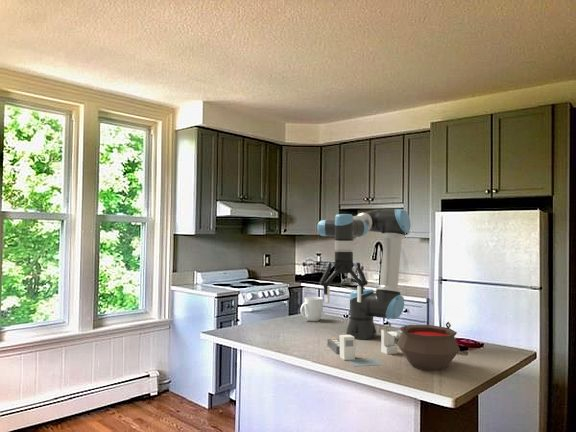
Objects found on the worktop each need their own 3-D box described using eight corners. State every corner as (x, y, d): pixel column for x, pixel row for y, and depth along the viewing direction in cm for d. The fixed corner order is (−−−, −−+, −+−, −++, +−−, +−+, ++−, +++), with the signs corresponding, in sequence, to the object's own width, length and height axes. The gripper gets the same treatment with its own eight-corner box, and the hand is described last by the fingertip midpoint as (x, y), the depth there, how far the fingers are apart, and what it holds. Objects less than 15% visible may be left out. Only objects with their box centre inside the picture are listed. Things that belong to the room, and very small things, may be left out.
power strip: (334, 342, 213) (334, 334, 213) (347, 353, 194) (347, 345, 194) (323, 343, 212) (324, 335, 213) (336, 354, 193) (336, 345, 193)
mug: (306, 323, 258) (306, 300, 258) (295, 320, 266) (295, 298, 267) (326, 320, 266) (326, 298, 267) (314, 317, 275) (315, 296, 276)
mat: (374, 359, 186) (374, 358, 186) (383, 365, 177) (383, 364, 177) (346, 360, 184) (346, 359, 184) (354, 367, 175) (354, 366, 175)
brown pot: (424, 377, 163) (424, 331, 164) (384, 360, 185) (384, 319, 186) (474, 370, 173) (473, 326, 173) (430, 354, 195) (430, 316, 195)
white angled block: (373, 348, 195) (381, 329, 197) (389, 357, 198) (396, 339, 201) (378, 350, 191) (386, 331, 194) (394, 359, 195) (402, 340, 197)
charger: (349, 356, 190) (349, 334, 191) (355, 359, 184) (354, 336, 185) (339, 356, 190) (338, 334, 191) (344, 360, 183) (344, 337, 184)
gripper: (369, 250, 195) (368, 300, 194) (312, 250, 190) (312, 301, 189) (375, 251, 187) (375, 303, 186) (316, 251, 183) (316, 304, 182)
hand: (343, 302), depth 188 cm, fingers open, 13 cm apart
